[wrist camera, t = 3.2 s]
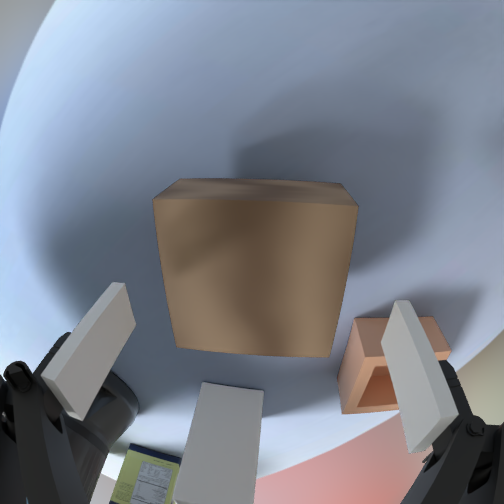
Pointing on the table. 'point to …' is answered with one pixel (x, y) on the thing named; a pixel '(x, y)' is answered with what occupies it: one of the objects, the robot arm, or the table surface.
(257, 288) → the brown box
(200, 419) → the milk carton
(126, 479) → the protein box
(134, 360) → the table surface
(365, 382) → the open square box
